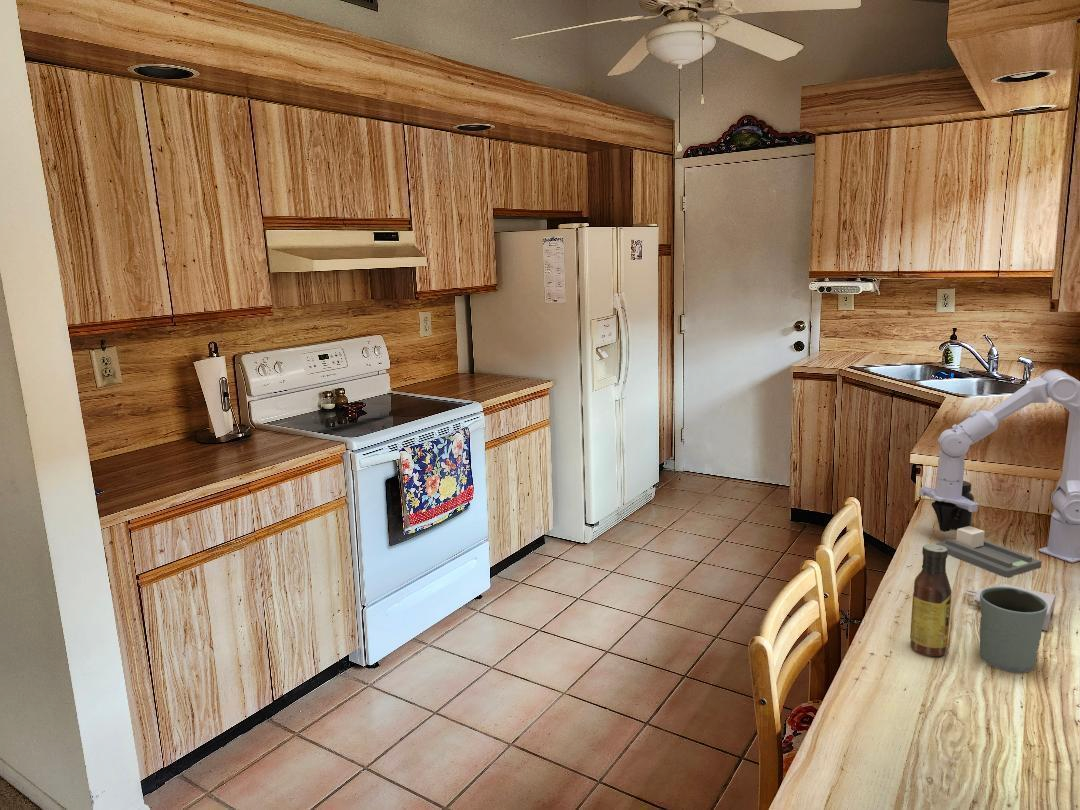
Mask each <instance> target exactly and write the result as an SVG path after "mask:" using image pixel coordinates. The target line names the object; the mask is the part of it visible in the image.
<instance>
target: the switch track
mask: <svg viewBox="0 0 1080 810" xmlns="http://www.w3.org/2000/svg"><path fill="white" fill-rule="evenodd" d="M935 544H936V545H941V546H944V547H946V548H947V550H948V556H951V557H953V558H956V559H959V560H961V561H963V562H965V563H969V564H971V565H974V566H976V567H979V568H981V569H984V570H986V571H989V572H990V573H993V572H994V573H993V574H996V575H998V574H999V575H998V576H1001V575H1002V576H1001V577H1003V576H1004V577H1003V578H1006V577H1007V578H1010V577H1014V576H1016V575H1021V574H1024V573H1027V572H1030V571H1033V570H1036V569H1040V568H1042V561H1043V560H1040V559H1038V558H1037V559H1036V558H1034V557H1032V556H1030V555H1027V554H1025V553H1022V552H1019V551H1016V550H1014V549H1012V548H1008V547H1006V546H1002V545H1000V544H997V543H994V542H992V541H989V540H986V539H984V545H983V546H980V547H976V548H972V547H969V546H967V545H964V544H961V543H959V542H956V537H955V538H952V539H951V538H947V539H945V540H944V541H940V542H937V543H935ZM1023 572H1024V573H1023ZM1013 575H1014V576H1013Z"/></svg>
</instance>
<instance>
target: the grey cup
mask: <svg viewBox="0 0 1080 810" xmlns="http://www.w3.org/2000/svg"><path fill="white" fill-rule="evenodd" d="M983 589H984V590H982V591H981V593H980V603H979V604H980V606H979V607H980V611H979V612H980V615H981V616H980V618H979V651H978V652H979V656H980V659H982V661H984V662H985V663H987V664H988V665H989V666H991V667H993V668H996V669H998V670H1001V671H1005V672H1009V673H1016V674H1023V673H1030V672H1031V671H1033V669H1035V666H1036V662H1037V657H1038V650H1039V646H1040V644H1041V643H1040V642H1041V638H1042V632H1043V630H1042V628H1043V623H1044V619H1045V616H1046V612H1047V608H1048V605H1047V603H1046V602H1045V601H1044V600H1043V599H1042V598H1041V597H1039V596H1037V595H1035V594H1033V593H1030V592H1028V591H1025V590H1021V589H1017V588H1011V587H998V586H991V587H987V588H983Z"/></svg>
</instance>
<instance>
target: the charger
mask: <svg viewBox="0 0 1080 810" xmlns="http://www.w3.org/2000/svg"><path fill="white" fill-rule="evenodd" d="M997 587H1011V588H1017V589H1021V590H1025V591H1028V592H1030V593H1033V594H1035V595H1037V596H1039V597H1041V598H1042V599H1043V600H1044V601H1045V602H1046V603H1047V605H1048V608H1047V612H1046V616H1045V619H1044V623H1043V628H1042V631H1044V632H1047V631H1048V629H1049V627H1050V624H1051V621H1052V620H1053V616H1054V612H1055V605H1056V604H1055V603H1056V595H1055V594H1051V593H1047V592H1042V591H1038V590H1034V589H1029V588H1025V587H1021V586H1017V585H1013V584H1009V583H1002V584H998V585H997ZM984 589H985V588H982V587H978V589H977V591H976V590H972V589H968V588H967V589H966V592H964V595H967V596H971V597H974V603H978V604H980V593H981V591H982V590H984Z"/></svg>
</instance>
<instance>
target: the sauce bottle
mask: <svg viewBox="0 0 1080 810" xmlns="http://www.w3.org/2000/svg"><path fill="white" fill-rule="evenodd" d="M921 552H922V557H923V558H922V565H921V571H920V572H919V573H918V575H917V576H916V577H915V579H914V585H913V593H912V601H911V602H912V604H911V619H910V632H909V633H910V634H909V635H910V636H909V639H910V647H911V648H912V649H913V650H914V652H917V653H919V654H921V655H923V656H924V655H925V656H928V657H940V656H942V655H944V654H945V653H946V651H947V646H948V645H949V644H948V642H949V633H950V632H949V631H950V630H949V629H950V618H951V605H952V588H951V584H950V581H949V578H948V575H947V569H946V567H947V566H946V564H947V563H946V562H947V558H948V556H949V555H948V550H947V548H946V547H944V546H941V545H936V543H927V544H923V546H922V551H921Z"/></svg>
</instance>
